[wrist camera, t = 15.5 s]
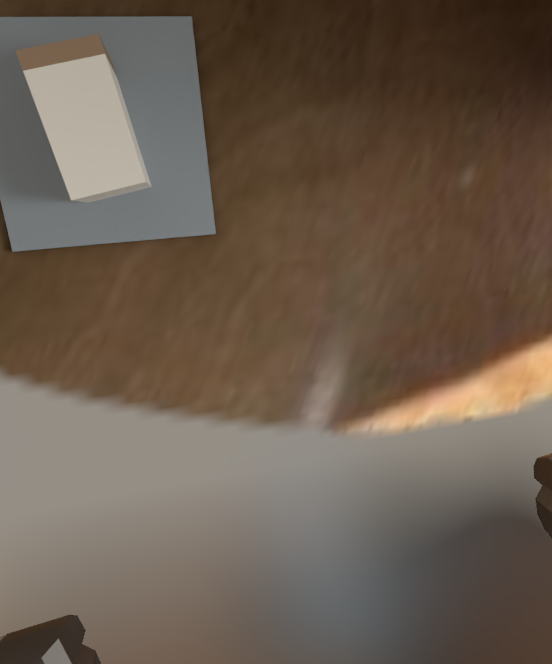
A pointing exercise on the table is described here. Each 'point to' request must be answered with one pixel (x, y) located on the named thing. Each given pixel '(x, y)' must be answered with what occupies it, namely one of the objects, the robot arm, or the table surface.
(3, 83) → the slate mat
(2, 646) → the robot arm
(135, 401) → the table surface
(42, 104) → the cream block
